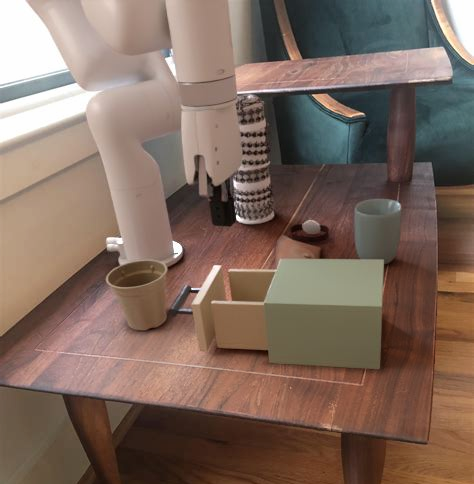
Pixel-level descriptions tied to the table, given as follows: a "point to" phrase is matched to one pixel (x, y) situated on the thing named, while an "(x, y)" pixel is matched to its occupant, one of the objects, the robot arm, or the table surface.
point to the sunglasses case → (294, 250)
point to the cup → (377, 229)
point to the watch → (310, 228)
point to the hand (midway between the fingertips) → (224, 223)
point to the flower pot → (141, 292)
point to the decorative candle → (253, 164)
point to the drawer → (229, 309)
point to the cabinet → (325, 313)
